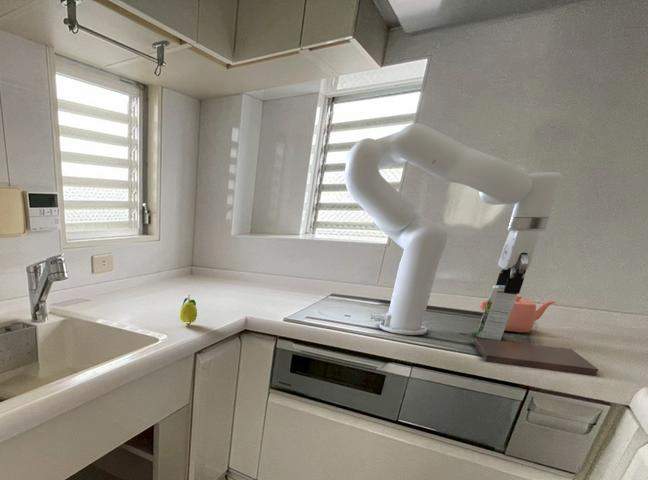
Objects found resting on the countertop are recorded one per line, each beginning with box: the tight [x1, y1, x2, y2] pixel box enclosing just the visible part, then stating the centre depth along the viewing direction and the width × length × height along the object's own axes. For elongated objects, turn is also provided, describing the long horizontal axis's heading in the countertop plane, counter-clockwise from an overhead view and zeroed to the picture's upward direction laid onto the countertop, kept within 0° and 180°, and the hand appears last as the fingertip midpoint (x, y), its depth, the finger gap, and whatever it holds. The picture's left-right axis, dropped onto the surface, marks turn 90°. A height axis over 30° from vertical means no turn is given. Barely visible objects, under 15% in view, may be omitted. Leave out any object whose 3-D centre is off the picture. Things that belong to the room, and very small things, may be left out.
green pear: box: [179, 294, 198, 326], centre depth 129 cm, size 7×6×10 cm
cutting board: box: [473, 337, 599, 376], centre depth 101 cm, size 20×16×2 cm
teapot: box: [479, 294, 558, 334], centre depth 123 cm, size 12×18×10 cm, turn 66°
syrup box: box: [475, 284, 519, 341], centre depth 114 cm, size 6×6×14 cm
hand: (506, 290), depth 112 cm, fingers open, 9 cm apart
